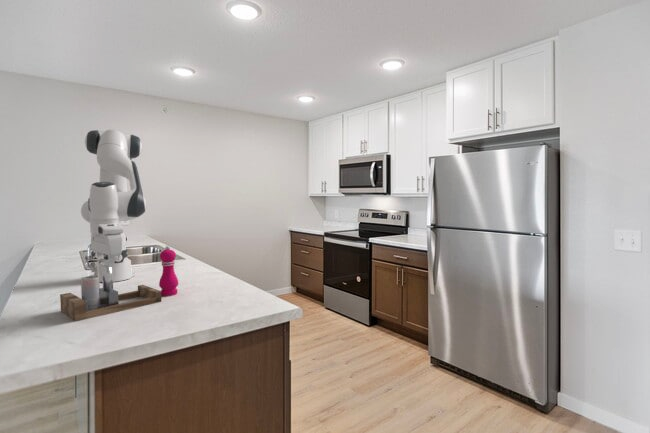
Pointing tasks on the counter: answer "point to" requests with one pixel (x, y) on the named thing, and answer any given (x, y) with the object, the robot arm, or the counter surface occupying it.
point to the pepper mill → (168, 273)
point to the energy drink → (90, 292)
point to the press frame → (77, 309)
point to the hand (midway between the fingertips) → (106, 265)
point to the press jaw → (108, 288)
